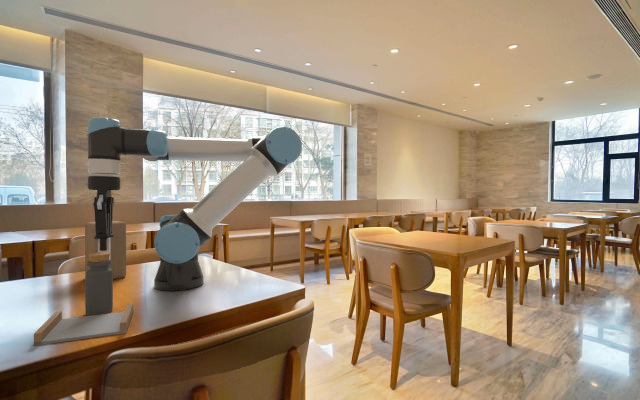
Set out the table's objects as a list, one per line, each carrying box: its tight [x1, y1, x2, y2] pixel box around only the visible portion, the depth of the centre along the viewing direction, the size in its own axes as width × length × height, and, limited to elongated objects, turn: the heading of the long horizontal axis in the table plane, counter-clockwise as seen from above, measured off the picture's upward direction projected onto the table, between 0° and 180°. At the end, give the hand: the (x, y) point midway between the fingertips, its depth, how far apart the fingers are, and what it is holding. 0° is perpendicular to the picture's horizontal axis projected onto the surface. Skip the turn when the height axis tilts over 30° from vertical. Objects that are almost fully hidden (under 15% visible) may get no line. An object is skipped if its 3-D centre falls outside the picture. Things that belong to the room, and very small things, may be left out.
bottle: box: [84, 252, 114, 316], centre depth 85 cm, size 6×6×15 cm
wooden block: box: [84, 220, 127, 280], centre depth 119 cm, size 10×10×20 cm
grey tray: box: [33, 303, 134, 346], centre depth 75 cm, size 16×13×2 cm
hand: (104, 261), depth 92 cm, fingers closed
